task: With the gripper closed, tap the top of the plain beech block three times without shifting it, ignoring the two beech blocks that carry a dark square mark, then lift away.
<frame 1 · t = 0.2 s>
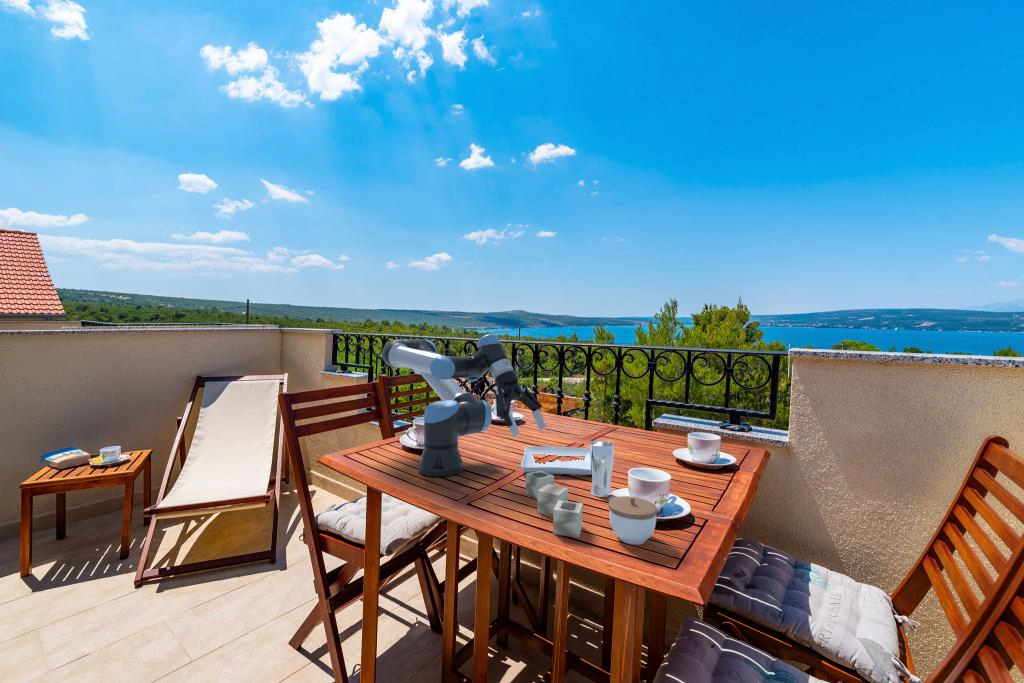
hand: (530, 432, 130), 16 cm above the table, tool tilted 35°, fingers open, 13 cm apart
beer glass: (601, 494, 121), on the table
lidded jar: (631, 539, 94), on the table
marked block a: (539, 494, 120), on the table
marked block b: (567, 530, 98), on the table
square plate: (559, 466, 148), on the table
plain block: (552, 511, 108), on the table
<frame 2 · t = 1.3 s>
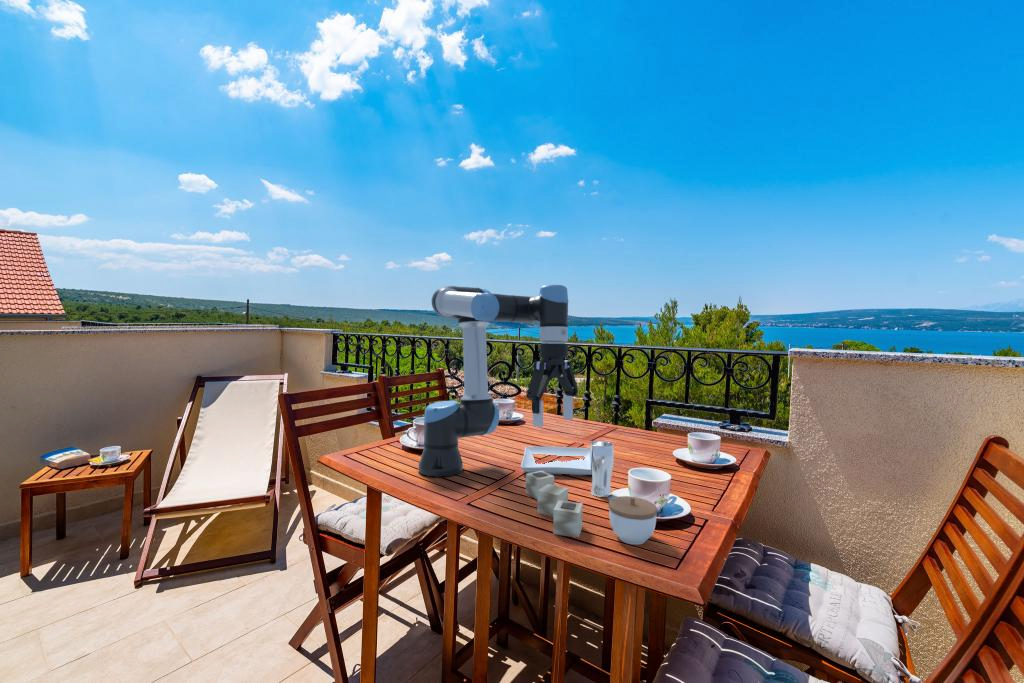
hand: (553, 422, 109), 24 cm above the table, tool pointing down, fingers open, 13 cm apart
nothing on the table moved.
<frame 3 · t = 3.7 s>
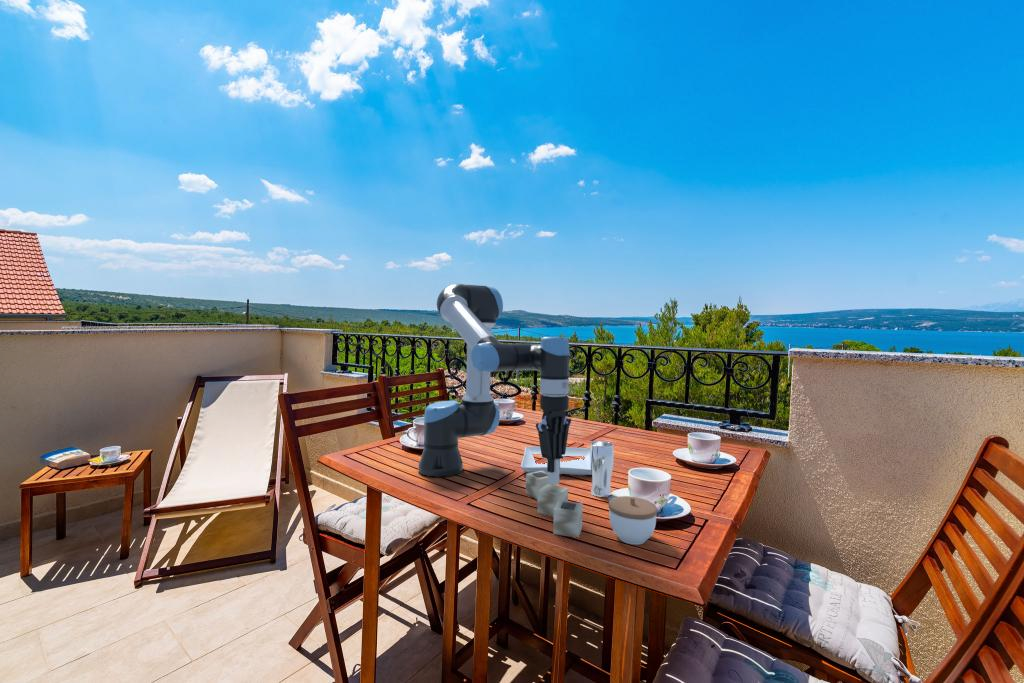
hand: (553, 483, 108), 8 cm above the table, tool pointing down, fingers closed
nothing on the table moved.
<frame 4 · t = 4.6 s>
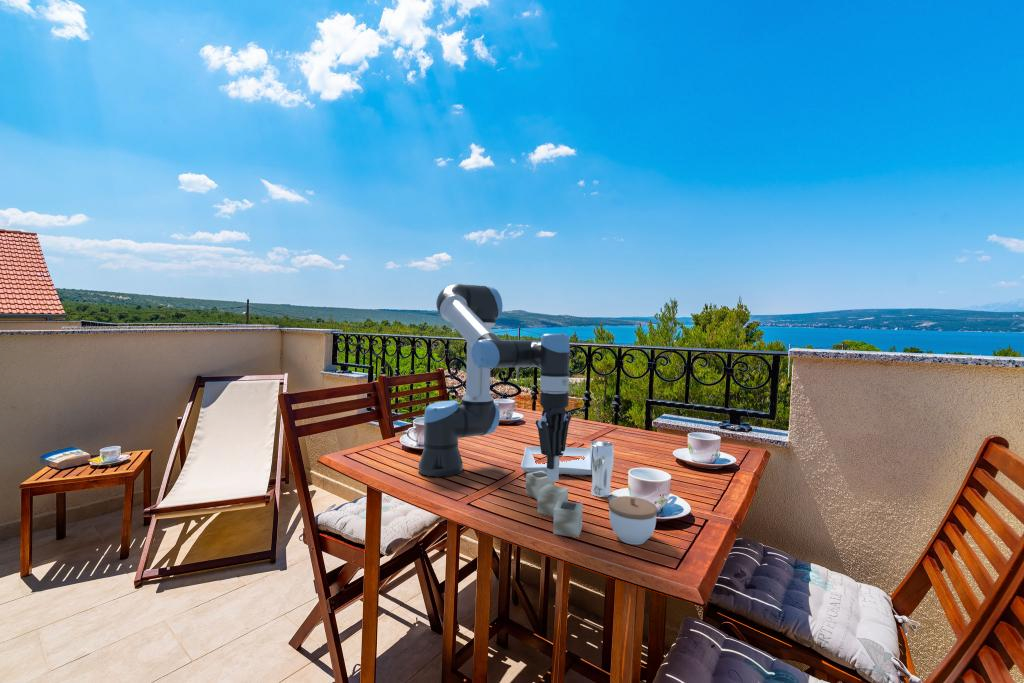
hand: (552, 479, 108), 8 cm above the table, tool pointing down, fingers closed
nothing on the table moved.
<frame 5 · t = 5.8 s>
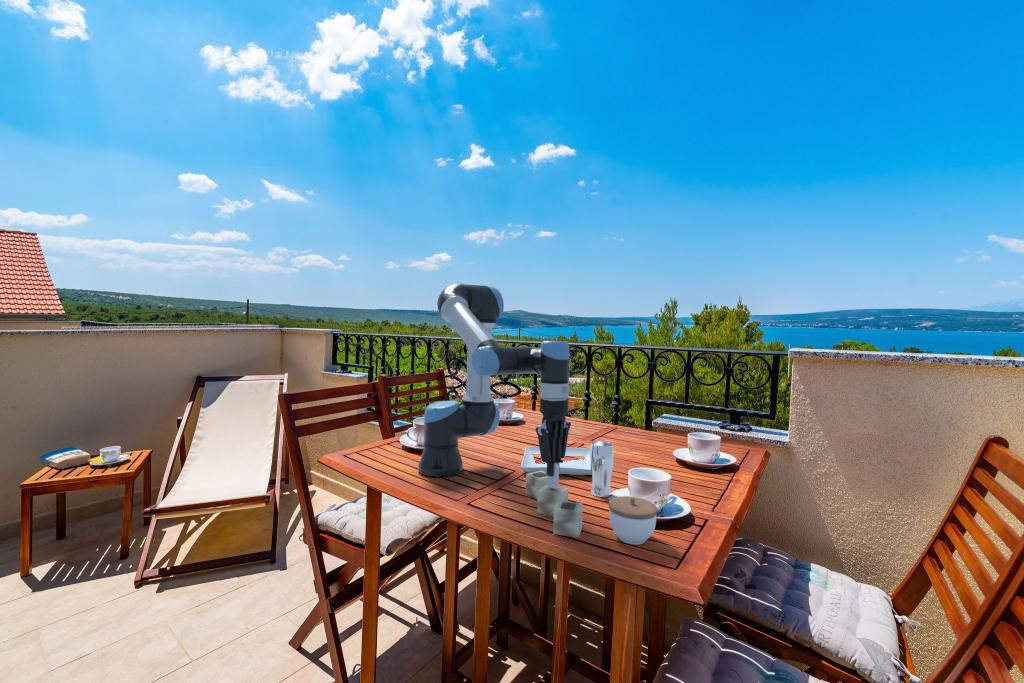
hand: (552, 486, 108), 6 cm above the table, tool pointing down, fingers closed
nothing on the table moved.
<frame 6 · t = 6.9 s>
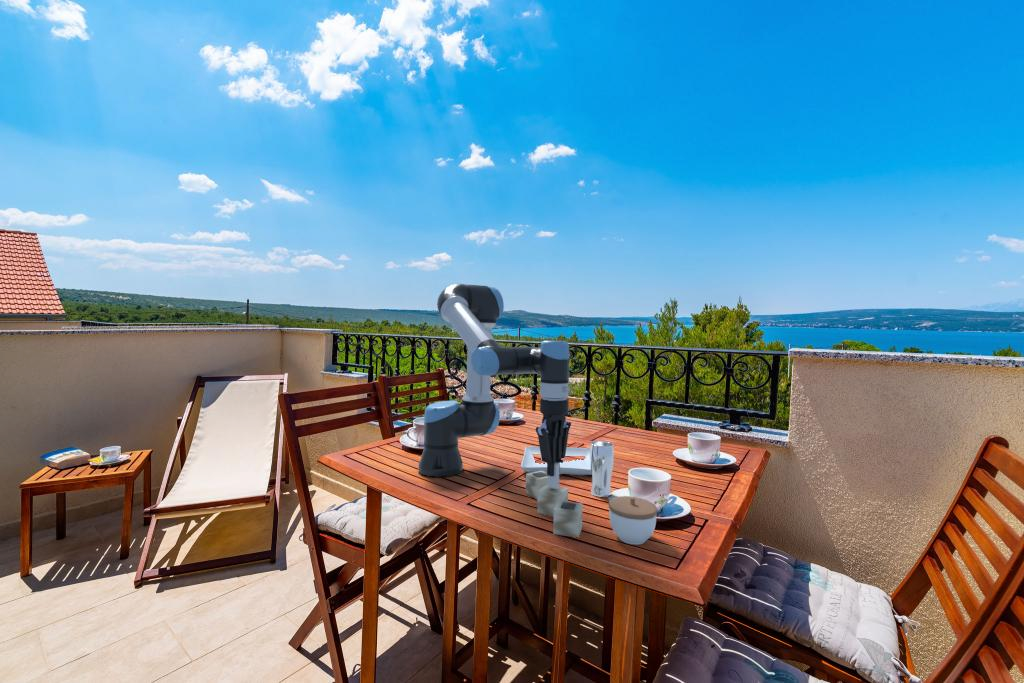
hand: (553, 486, 108), 7 cm above the table, tool pointing down, fingers closed
nothing on the table moved.
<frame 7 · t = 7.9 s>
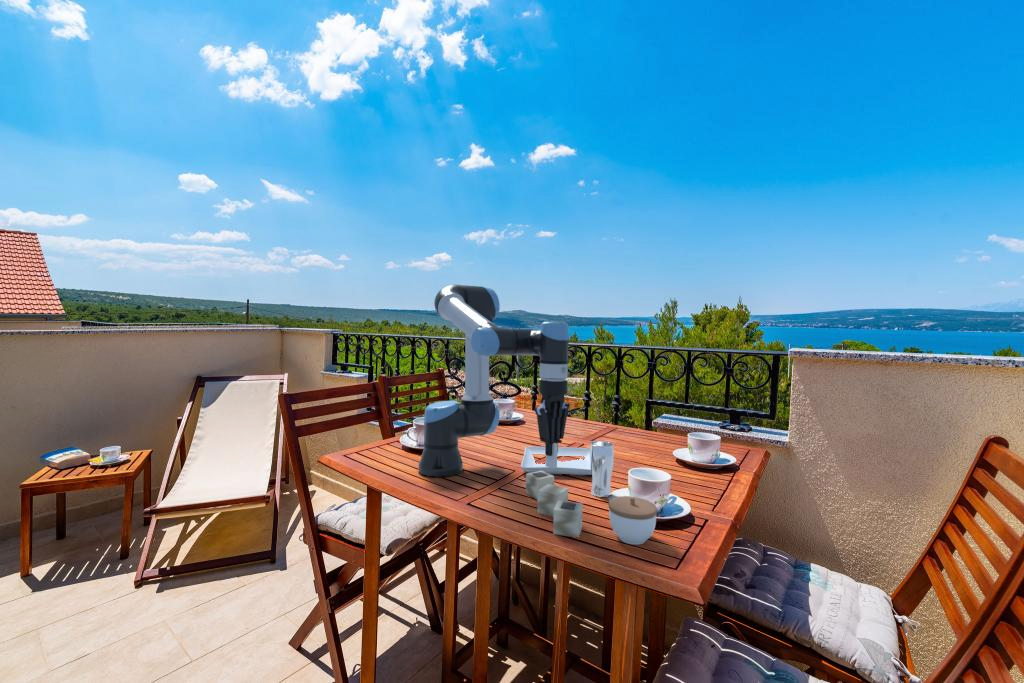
hand: (551, 466, 109), 12 cm above the table, tool pointing down, fingers closed
nothing on the table moved.
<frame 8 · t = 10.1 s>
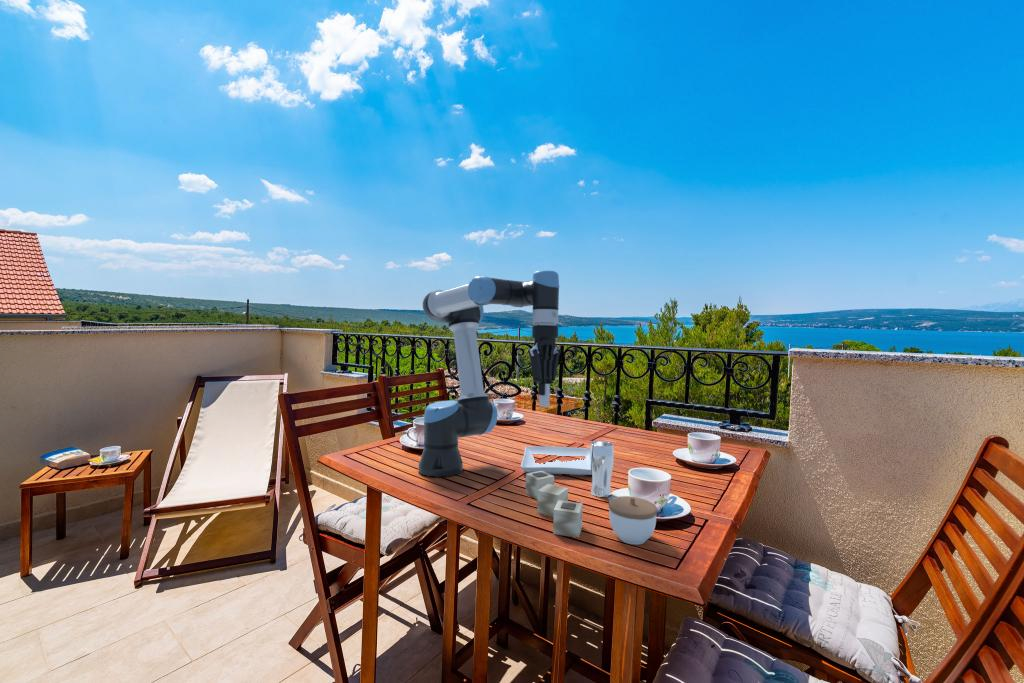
hand: (544, 406, 118), 26 cm above the table, tool pointing down, fingers closed
nothing on the table moved.
at the end: plain block moved 0.1 cm from its start; plain block tilted 0°; marked block b moved 0.1 cm from its start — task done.
